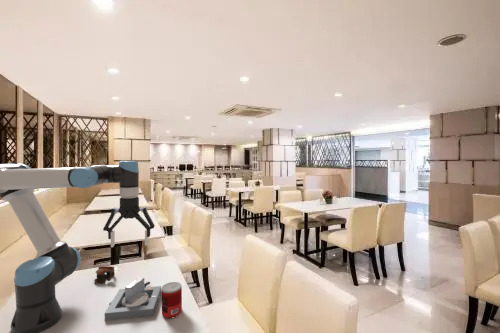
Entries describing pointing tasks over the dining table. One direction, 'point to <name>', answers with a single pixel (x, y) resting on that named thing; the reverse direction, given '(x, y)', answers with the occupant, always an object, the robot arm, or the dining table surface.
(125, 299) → the dial
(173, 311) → the canned food
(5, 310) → the dining table surface
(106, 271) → the pottery mug
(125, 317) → the grey square tray
